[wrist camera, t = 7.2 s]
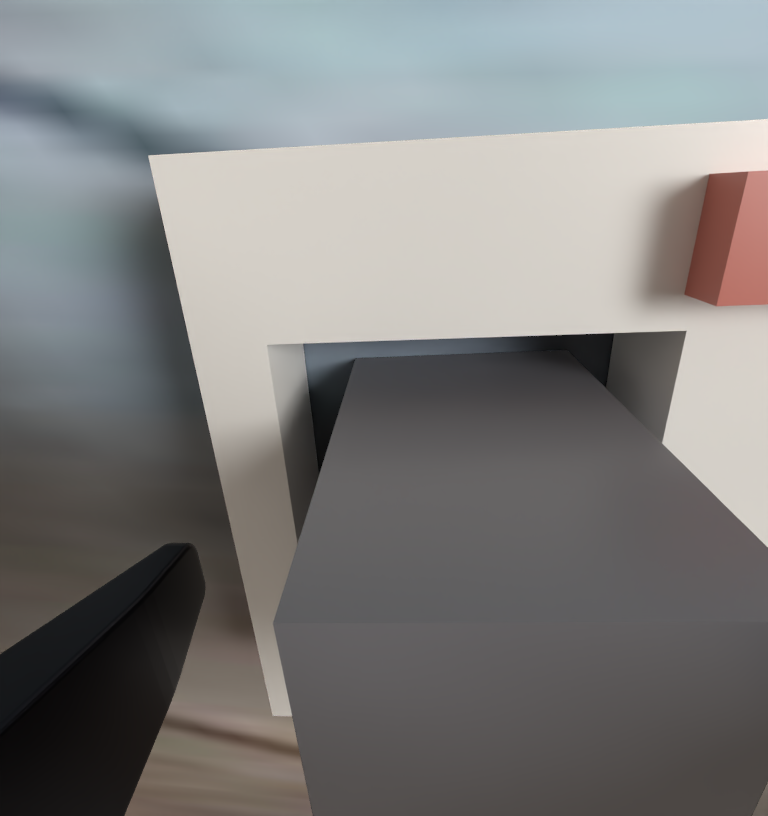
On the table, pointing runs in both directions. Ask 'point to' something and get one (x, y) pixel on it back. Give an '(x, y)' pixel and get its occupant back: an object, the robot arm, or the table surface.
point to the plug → (519, 605)
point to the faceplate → (471, 293)
